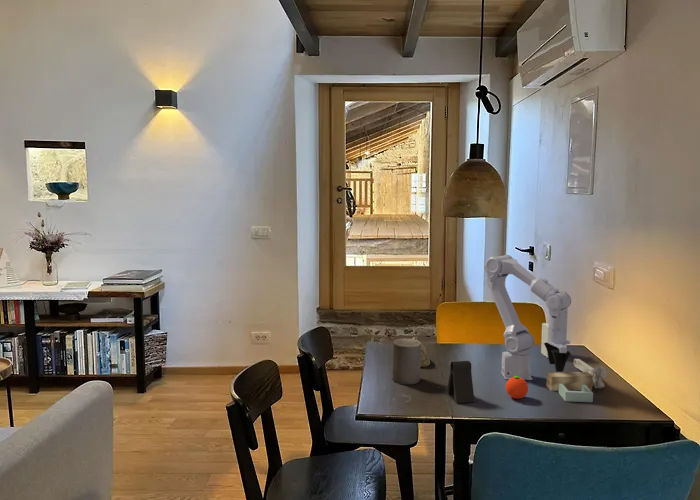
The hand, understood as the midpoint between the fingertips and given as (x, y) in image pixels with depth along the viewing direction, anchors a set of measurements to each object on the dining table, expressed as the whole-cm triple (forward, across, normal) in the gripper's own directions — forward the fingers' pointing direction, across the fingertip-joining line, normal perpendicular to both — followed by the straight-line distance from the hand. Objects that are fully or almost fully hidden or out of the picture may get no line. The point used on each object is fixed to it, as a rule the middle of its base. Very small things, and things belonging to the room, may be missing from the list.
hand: (556, 367), depth 182 cm
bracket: (+7, -8, -4) cm, 11 cm away
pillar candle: (+7, +3, +50) cm, 51 cm away
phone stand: (+7, -12, +33) cm, 36 cm away
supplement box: (+7, +36, -9) cm, 38 cm away
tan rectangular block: (+7, 0, -4) cm, 8 cm away
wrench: (+7, +10, -14) cm, 19 cm away
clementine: (+7, -10, +15) cm, 19 cm away
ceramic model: (+7, +24, +46) cm, 53 cm away
